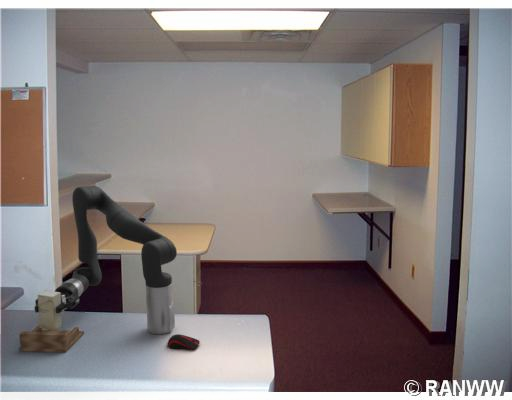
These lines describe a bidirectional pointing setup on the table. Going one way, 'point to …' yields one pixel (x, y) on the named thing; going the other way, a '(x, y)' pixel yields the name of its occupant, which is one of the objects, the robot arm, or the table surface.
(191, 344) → the computer mouse
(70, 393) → the table surface
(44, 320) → the skincare box
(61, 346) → the tray
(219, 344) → the table surface
